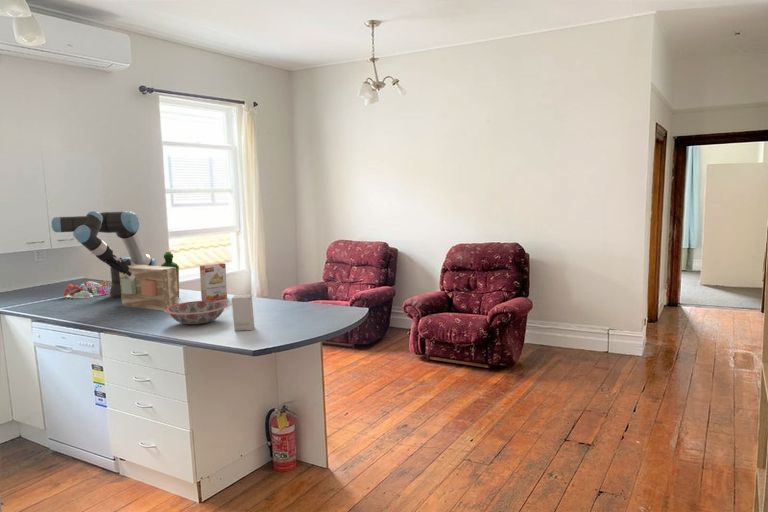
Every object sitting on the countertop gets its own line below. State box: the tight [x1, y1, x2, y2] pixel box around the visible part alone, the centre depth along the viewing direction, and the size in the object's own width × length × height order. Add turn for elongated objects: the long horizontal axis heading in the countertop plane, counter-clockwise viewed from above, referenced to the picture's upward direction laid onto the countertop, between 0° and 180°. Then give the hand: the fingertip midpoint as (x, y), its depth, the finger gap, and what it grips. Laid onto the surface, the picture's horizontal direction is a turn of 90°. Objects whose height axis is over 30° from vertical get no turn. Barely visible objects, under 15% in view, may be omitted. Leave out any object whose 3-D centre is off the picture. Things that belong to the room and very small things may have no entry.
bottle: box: [160, 250, 180, 298], centre depth 337 cm, size 11×11×28 cm
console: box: [119, 265, 180, 311], centre depth 316 cm, size 10×34×22 cm, turn 62°
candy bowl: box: [63, 279, 111, 299], centre depth 356 cm, size 25×24×9 cm
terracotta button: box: [141, 280, 157, 296], centre depth 306 cm, size 3×8×8 cm, turn 62°
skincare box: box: [231, 294, 255, 331], centre depth 259 cm, size 8×7×16 cm
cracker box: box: [199, 262, 228, 301], centre depth 330 cm, size 14×6×21 cm, turn 140°
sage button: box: [121, 278, 136, 294], centre depth 314 cm, size 3×8×8 cm, turn 62°
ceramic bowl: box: [164, 300, 229, 325], centre depth 275 cm, size 29×29×8 cm
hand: (133, 278), depth 296 cm, fingers closed
